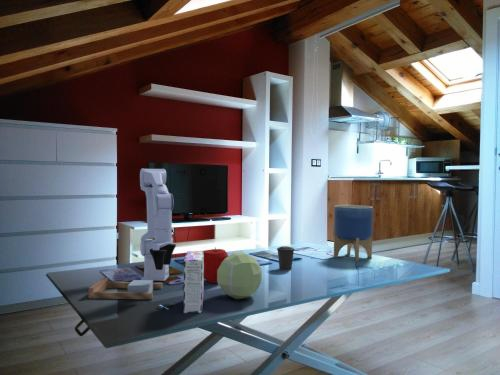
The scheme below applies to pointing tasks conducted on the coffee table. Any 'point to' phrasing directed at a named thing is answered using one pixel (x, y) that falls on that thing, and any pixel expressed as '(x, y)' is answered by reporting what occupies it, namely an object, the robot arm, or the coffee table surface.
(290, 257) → the coffee cup
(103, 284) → the track
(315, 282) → the coffee table surface
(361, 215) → the planter
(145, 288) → the keeper
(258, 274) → the decorative sphere
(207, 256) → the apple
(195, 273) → the candy box
